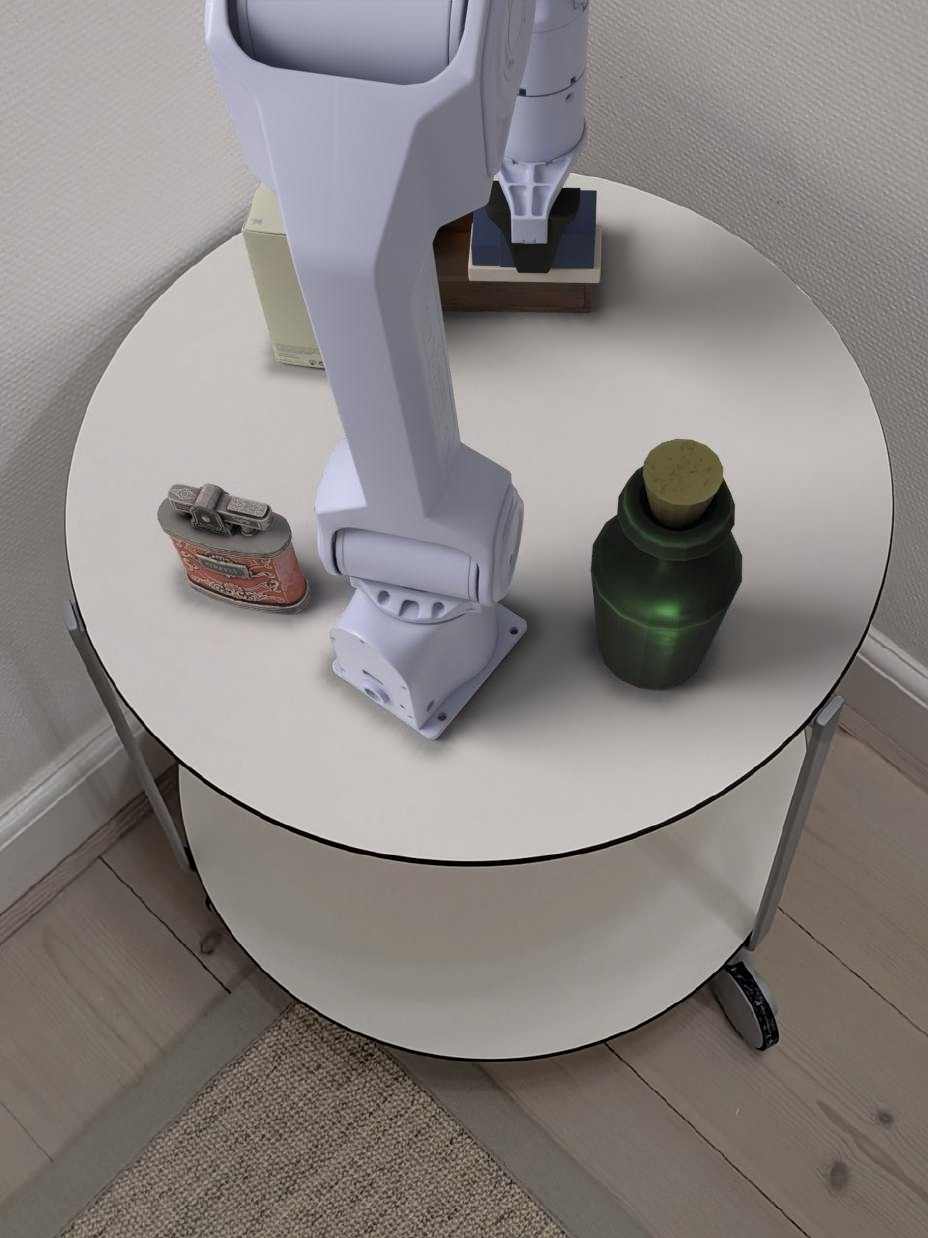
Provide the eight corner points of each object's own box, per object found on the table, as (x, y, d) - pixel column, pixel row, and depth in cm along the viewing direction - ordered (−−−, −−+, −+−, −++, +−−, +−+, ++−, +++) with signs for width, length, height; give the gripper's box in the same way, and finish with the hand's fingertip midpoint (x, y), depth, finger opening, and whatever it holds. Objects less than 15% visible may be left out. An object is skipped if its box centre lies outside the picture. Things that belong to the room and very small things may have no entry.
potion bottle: (666, 730, 72) (703, 576, 56) (556, 651, 75) (562, 482, 59) (747, 633, 75) (804, 459, 59) (638, 560, 77) (664, 375, 61)
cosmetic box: (334, 372, 86) (306, 241, 75) (274, 364, 86) (237, 233, 75) (357, 301, 88) (332, 166, 78) (298, 294, 89) (266, 159, 78)
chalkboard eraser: (600, 237, 82) (604, 188, 78) (599, 283, 80) (603, 235, 76) (472, 235, 83) (470, 187, 79) (468, 281, 81) (465, 233, 77)
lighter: (180, 593, 78) (134, 506, 69) (201, 548, 79) (159, 457, 71) (299, 623, 76) (269, 538, 68) (318, 577, 78) (290, 488, 69)
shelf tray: (592, 233, 90) (594, 202, 88) (590, 312, 87) (592, 282, 84) (422, 231, 91) (418, 200, 89) (413, 309, 88) (410, 279, 85)
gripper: (470, -24, 72) (480, 162, 84) (452, 154, 65) (465, 328, 77) (593, -24, 71) (584, 163, 83) (587, 155, 65) (579, 330, 77)
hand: (534, 243), depth 80 cm, fingers closed on chalkboard eraser, 4 cm apart
